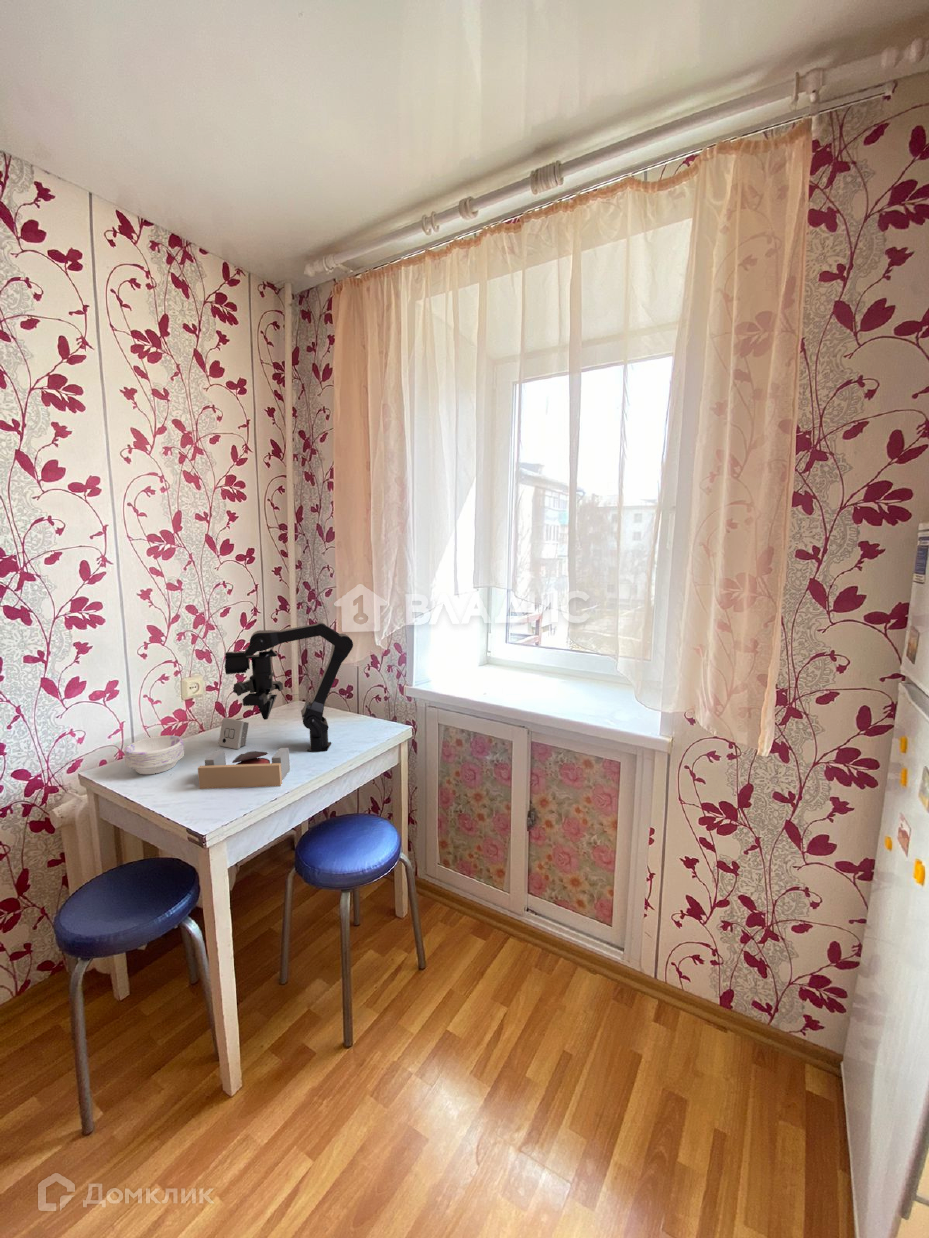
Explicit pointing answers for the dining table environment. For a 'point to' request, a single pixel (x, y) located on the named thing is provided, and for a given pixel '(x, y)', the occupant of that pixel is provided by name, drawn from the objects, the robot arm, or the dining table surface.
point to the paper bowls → (154, 754)
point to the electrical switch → (233, 733)
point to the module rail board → (243, 772)
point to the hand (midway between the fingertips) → (265, 719)
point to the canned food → (251, 758)
